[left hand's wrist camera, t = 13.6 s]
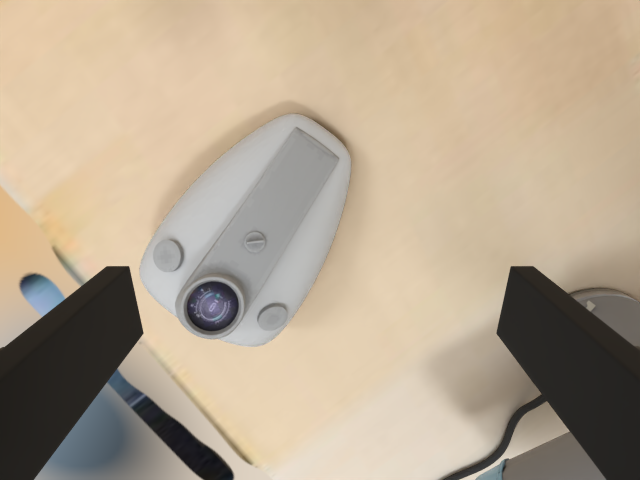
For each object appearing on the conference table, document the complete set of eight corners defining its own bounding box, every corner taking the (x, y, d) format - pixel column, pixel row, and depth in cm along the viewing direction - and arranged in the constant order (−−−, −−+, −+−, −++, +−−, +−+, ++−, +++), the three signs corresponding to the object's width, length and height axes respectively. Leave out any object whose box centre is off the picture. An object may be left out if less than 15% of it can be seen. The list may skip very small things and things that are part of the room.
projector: (375, 294, 43) (400, 383, 30) (194, 328, 45) (139, 428, 31) (338, 101, 35) (349, 102, 22) (122, 153, 37) (7, 183, 24)
